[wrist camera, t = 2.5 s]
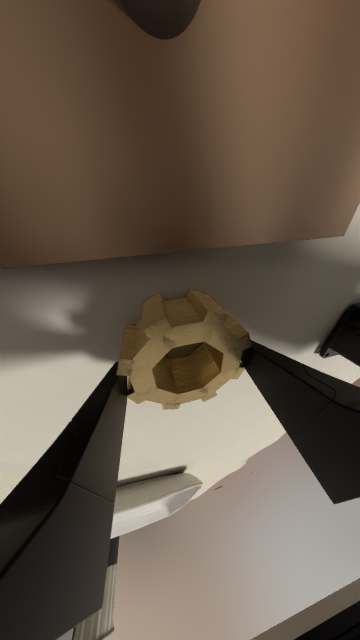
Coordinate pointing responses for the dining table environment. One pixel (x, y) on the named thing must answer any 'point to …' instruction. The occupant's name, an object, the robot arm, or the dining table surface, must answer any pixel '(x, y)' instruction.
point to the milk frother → (101, 622)
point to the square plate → (151, 501)
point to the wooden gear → (173, 331)
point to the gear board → (175, 125)
